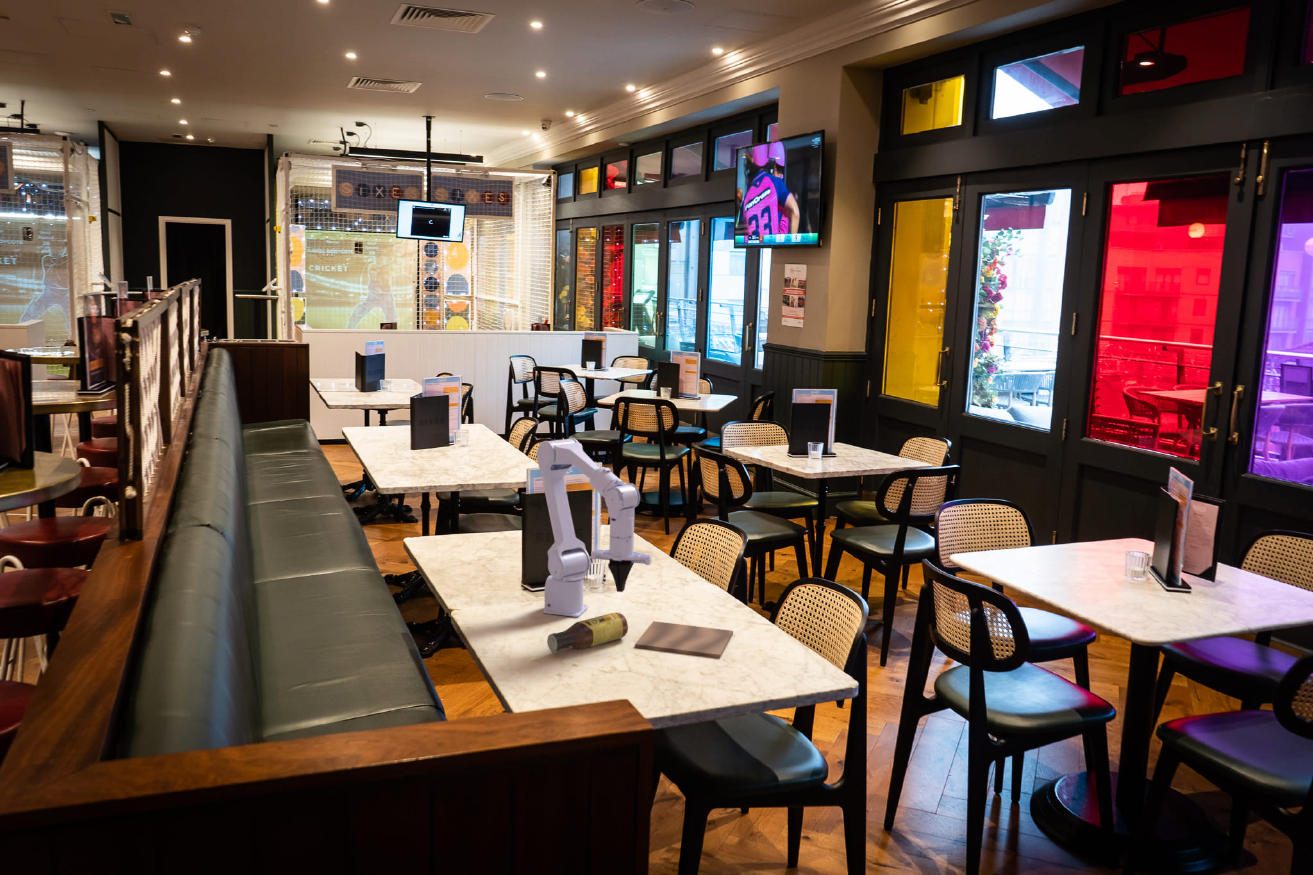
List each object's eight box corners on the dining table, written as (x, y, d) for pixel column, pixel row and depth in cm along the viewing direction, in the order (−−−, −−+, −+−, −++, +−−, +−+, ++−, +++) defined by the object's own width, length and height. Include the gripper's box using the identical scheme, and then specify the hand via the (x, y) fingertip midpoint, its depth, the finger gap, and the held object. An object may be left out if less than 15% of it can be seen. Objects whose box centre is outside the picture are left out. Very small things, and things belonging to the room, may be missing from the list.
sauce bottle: (626, 609, 220) (558, 627, 207) (631, 636, 219) (564, 655, 206) (609, 612, 225) (542, 630, 212) (614, 638, 224) (547, 657, 211)
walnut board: (635, 647, 216) (635, 643, 216) (653, 624, 231) (653, 621, 231) (720, 658, 211) (720, 654, 211) (733, 633, 226) (733, 630, 226)
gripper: (587, 536, 220) (586, 592, 222) (646, 542, 216) (645, 598, 218) (596, 529, 226) (596, 583, 229) (654, 535, 223) (653, 589, 225)
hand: (620, 590), depth 224 cm, fingers closed
